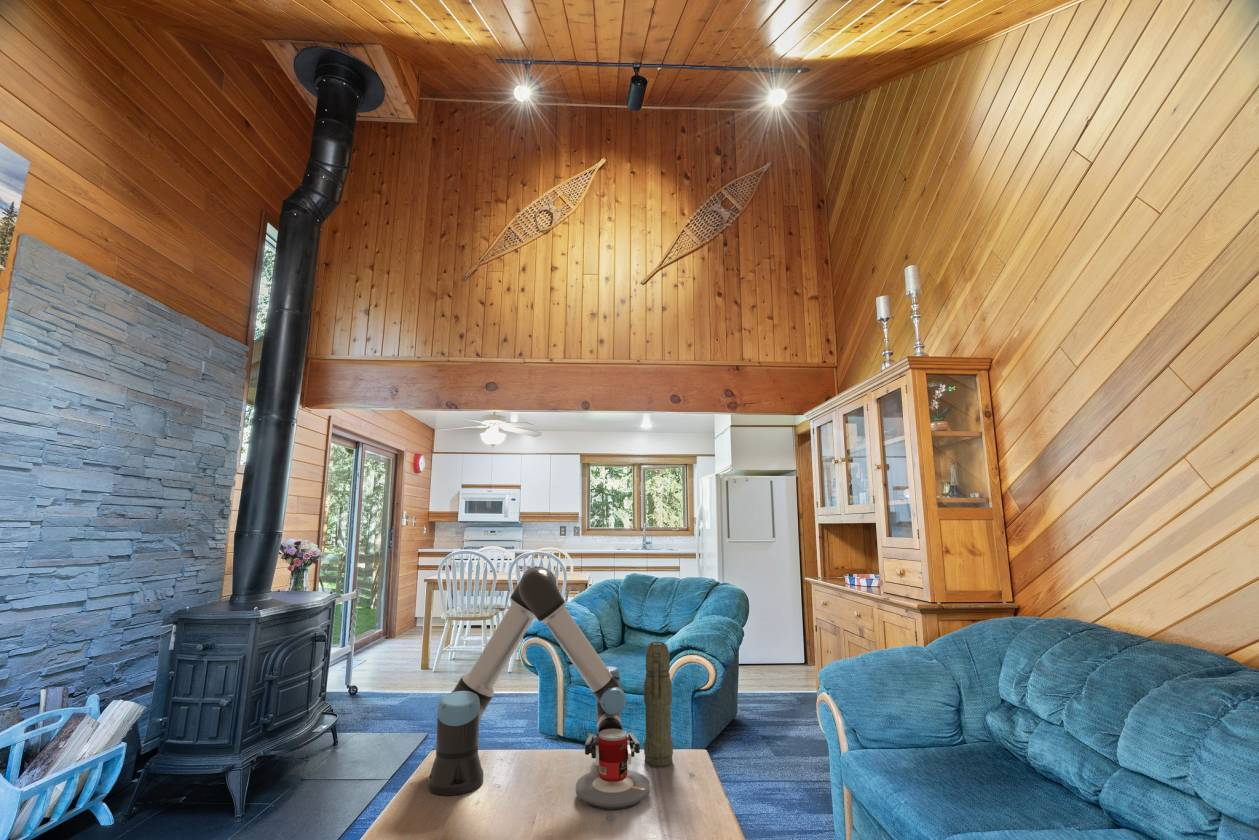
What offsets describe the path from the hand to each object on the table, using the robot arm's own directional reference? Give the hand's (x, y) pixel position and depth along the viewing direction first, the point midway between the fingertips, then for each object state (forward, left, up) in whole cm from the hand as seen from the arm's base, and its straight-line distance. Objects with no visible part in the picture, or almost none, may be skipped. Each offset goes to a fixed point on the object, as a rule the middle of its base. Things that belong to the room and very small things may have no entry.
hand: (613, 759), depth 160 cm
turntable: (-2, +4, -9) cm, 10 cm away
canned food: (-2, +4, -6) cm, 8 cm away
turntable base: (-2, +4, -11) cm, 12 cm away
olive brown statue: (0, +31, -11) cm, 33 cm away
